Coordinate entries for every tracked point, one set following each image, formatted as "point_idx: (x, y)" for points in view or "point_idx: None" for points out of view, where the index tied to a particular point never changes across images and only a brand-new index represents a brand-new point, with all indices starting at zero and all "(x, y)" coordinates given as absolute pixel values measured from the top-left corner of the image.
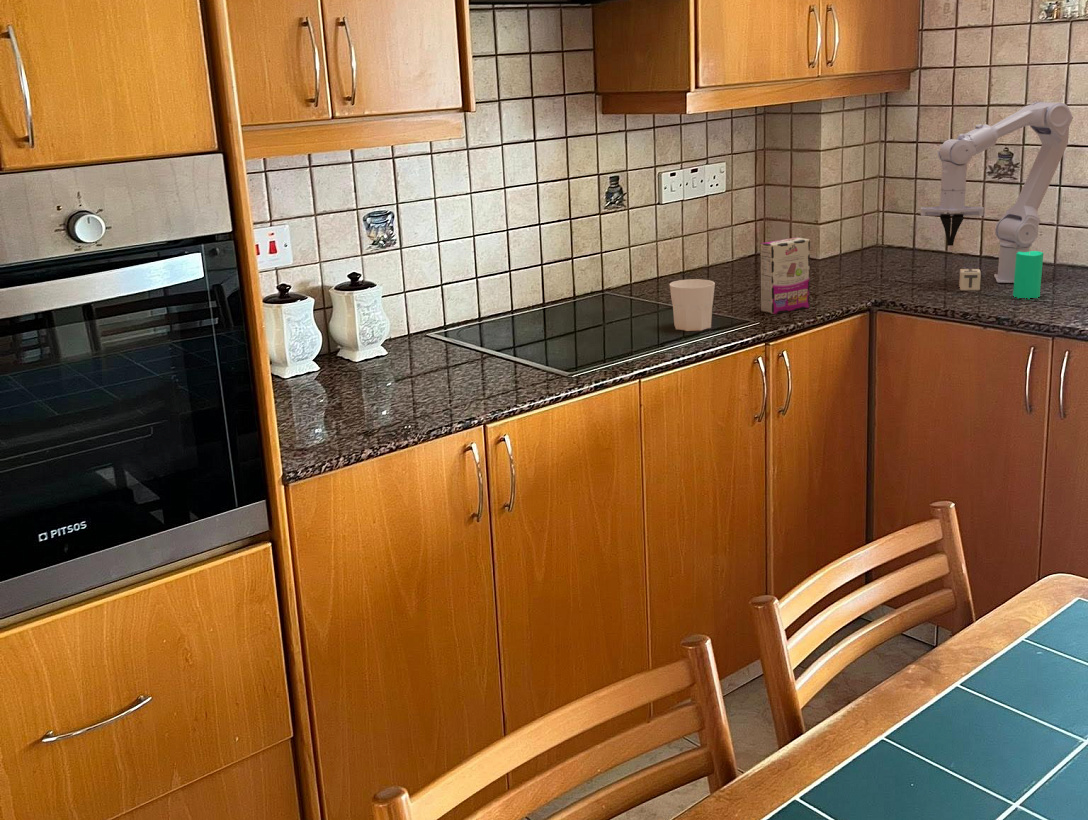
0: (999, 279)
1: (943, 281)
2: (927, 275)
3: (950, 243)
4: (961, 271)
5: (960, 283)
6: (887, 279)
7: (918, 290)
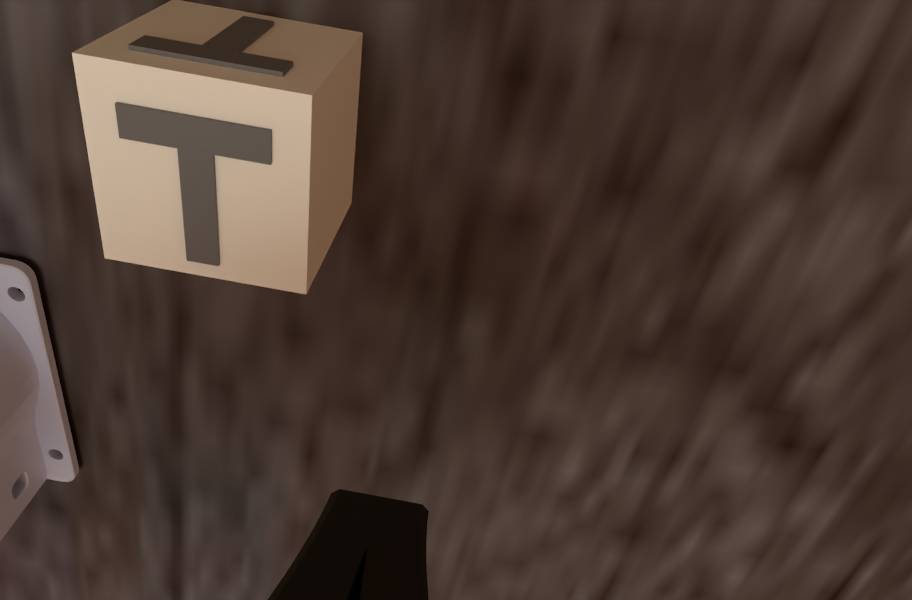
0: (18, 324)
1: (445, 395)
2: (510, 566)
3: (371, 521)
4: (305, 151)
5: (346, 83)
6: (840, 519)
7: (796, 68)
